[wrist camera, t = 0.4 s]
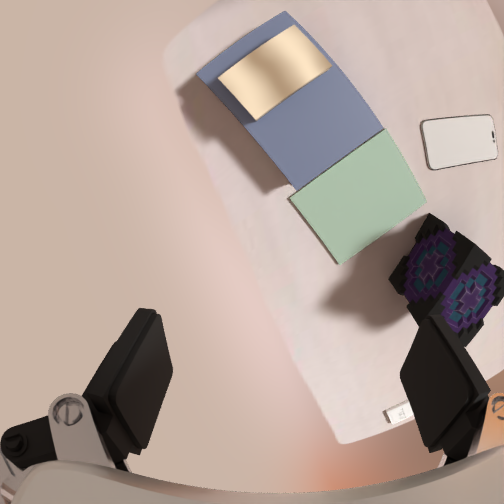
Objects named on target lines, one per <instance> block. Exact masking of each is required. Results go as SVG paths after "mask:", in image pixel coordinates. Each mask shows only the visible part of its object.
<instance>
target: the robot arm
mask: <svg viewBox="0 0 504 504" xmlns="http://www.w3.org/2000/svg"><path fill="white" fill-rule="evenodd" d="M172 373H173V367H172V363H171V359H170V355H169V350H168V346H167V342H166V337H165V333H164V328H163V323H162V318H161V315H160V314H157V313H156V311H155V310H154V309H145V308H139V309H138V310H137V311H136V313H135V314H134V316H133V317H132V319H131V320H130V322H129V323H128V325H127V326H126V328H125V329H124V331H123V333H122V334H121V336H120V337H119V339H118V340H117V341H116V342H115V343H114V344H113V345H112V347H111V348H110V350H109V352H108V353H107V355H106V356H105V358H104V360H103V361H102V363H101V364H100V366H99V368H98V369H97V371H96V373H95V374H94V376H93V378H92V380H91V381H90V383H89V384H88V386H87V388H86V390H85V391H84V393H83V395H82V396H80V395H78V394H73V393H69V394H64V395H61V396H59V397H57V398H56V399H55V400H54V401H53V402H52V404H51V405H50V408H49V412H48V416H45V417H42V418H39V419H36V420H33V421H30V422H27V423H24V424H20V425H17V426H14V427H11V428H9V429H8V430H7V431H5V432H4V434H3V436H2V438H1V442H0V504H504V393H495V394H493V395H492V396H491V397H490V398H489V397H488V394H489V392H490V391H491V390H490V388H489V386H488V385H487V383H486V381H485V380H484V378H483V376H482V375H481V373H480V371H479V370H478V368H477V366H476V365H475V363H474V362H473V360H472V358H471V357H470V355H469V354H468V352H467V351H466V349H465V348H464V346H463V345H462V343H461V342H460V340H459V339H458V337H457V336H456V334H455V333H454V331H453V330H452V329H451V327H450V326H449V324H448V323H447V322H446V320H445V319H444V317H443V316H442V315H428V316H426V317H425V319H424V320H422V322H421V324H420V326H419V329H418V331H417V334H416V336H415V339H414V341H413V344H412V346H411V348H410V351H409V353H408V355H407V357H406V360H405V362H404V364H403V366H402V368H401V371H400V379H401V382H402V384H403V387H404V390H405V392H406V395H407V397H408V400H409V403H410V406H411V408H412V411H413V414H414V417H415V420H416V422H417V425H418V428H419V431H420V434H421V437H422V440H423V443H424V445H425V446H426V447H428V449H429V453H432V452H435V451H438V450H441V449H442V448H443V450H444V454H443V457H442V460H441V462H440V464H439V466H438V468H436V469H433V470H430V471H427V472H424V473H420V474H417V475H413V476H410V477H406V478H402V479H397V480H394V481H389V482H384V483H379V484H374V485H368V486H362V487H356V488H349V489H342V490H333V491H322V492H307V493H250V492H236V491H235V492H234V491H225V490H216V489H208V488H201V487H195V486H188V485H183V484H178V483H172V482H167V481H163V480H158V479H154V478H149V477H145V476H141V475H138V474H134V473H132V472H131V470H130V468H129V466H128V464H127V462H126V459H127V456H128V454H129V452H130V453H133V454H137V455H140V453H141V450H142V449H146V448H147V446H148V443H149V440H150V437H151V434H152V431H153V428H154V425H155V423H156V419H157V417H158V414H159V411H160V408H161V405H162V402H163V400H164V397H165V394H166V391H167V389H168V386H169V383H170V380H171V378H172Z"/></svg>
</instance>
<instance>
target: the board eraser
mask: <svg viewBox="0 0 504 504" xmlns="http://www.w3.org/2000/svg"><path fill="white" fill-rule="evenodd" d="M331 67H332V65H331V63H330V62H329V61H328V60H327V59H326V58H325V56H324V55H323V54H322V53H321V52H320V51H319V50H318V49H317V48H316V46H315V45H314V44H313V43H312V42H311V41H310V40H309V39H308V38H307V37H306V36H305V35H304V34H303V33H302V32H301V31H300V30H299V29H298V28H297V27H296V26H295V25H293V26H291V27H289V28H288V29H286V30H284V31H283V32H281V33H280V34H278V35H277V36H275V37H273V38H272V39H270V40H269V41H267V42H266V43H264V44H263V45H261V46H260V47H259V48H257V49H256V50H254V51H253V52H251V53H250V54H249V55H247V56H246V57H244V58H243V59H242V60H240V61H239V62H238V63H236V64H235V65H234V66H232V67H231V68H230V69H228V70H227V71H226V72H225V73H223V74H222V75H221V76H220V77H218V79H219V80H220V81H221V82H222V83H223V84H224V85H225V86H226V87H227V88H228V90H229V91H230V92H231V93H232V94H233V95H234V96H235V97H236V98H237V99H238V101H239V102H240V103H241V104H242V105H243V106H244V107H245V108H246V109H247V111H248V112H249V113H250V114H251V115H252V116H253V117H254V119H255V120H256V121H258V120H259V119H260V118H262V117H263V116H264V115H266V114H267V113H268V112H270V111H271V110H272V109H274V108H275V107H276V106H278V105H279V104H280V103H282V102H283V101H285V100H286V99H287V98H289V97H290V96H292V95H293V94H294V93H296V92H297V91H299V90H300V89H302V88H303V87H304V86H306V85H307V84H309V83H310V82H312V81H313V80H315V79H316V78H318V77H319V76H321V75H322V74H324V73H325V72H327V71H328V70H329V69H330V68H331Z"/></svg>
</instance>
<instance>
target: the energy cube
mask: <svg viewBox="0 0 504 504" xmlns="http://www.w3.org/2000/svg"><path fill="white" fill-rule="evenodd" d="M415 239H416V242H417V243H416V244H415V246H414V248H413V249H412V251H411V253H410V254H409V256H403V258H402V259H401V261H400V262H399V264H398V265H397V267H396V269H395V270H394V272H393V273H392V274H391V276H390V277H389V281H390V282H391V284H392V285H393V287H394V288H395V290H396V291H397V293H398V294H400V295H405V297H406V298H407V300H408V301H409V304H408V305H407V308H408V310H409V311H410V313H411V315H412V316H413V318H414V319H415V321H416V323H417V324H418V326H420V324H421V322H422V320H424V319H425V317H426V316H428V315H442V316H443V317H444V319H445V320H446V322H447V323H448V324H449V326H450V327H451V329H452V330H453V331H454V333H455V334H456V336H457V337H458V339H459V340H460V342H461V343H462V345H463V346H464V347H466V346H467V345H468V344H469V343H470V341H471V340H472V339H473V338H474V337H475V335H476V334H477V333H478V332H479V330H480V329H481V328H482V326H483V325H484V322H483V318H484V317H485V316H486V314H487V313H488V312H489V310H490V309H491V307H492V306H498V304H499V303H500V301H501V300H502V298H503V297H504V270H503V269H502V268H500V267H499V266H496V265H492V264H491V263H490V261H491V258H490V257H489V256H488V255H487V254H486V253H485V252H484V251H483V250H481V249H480V248H479V247H478V246H477V245H476V244H475V243H473V242H472V241H470V240H469V239H468V238H466V237H465V236H463V235H462V234H461V233H459V232H458V231H456V232H455V234H454V233H452V232H451V231H450V229H449V227H448V225H447V224H446V223H444V222H443V221H441V220H440V219H438V218H437V217H435V216H434V215H432V214H430V213H429V214H428V216H427V218H426V220H425V221H424V223H423V225H422V227H421V228H420V230H419V232H418V233H417V235H416V237H415Z"/></svg>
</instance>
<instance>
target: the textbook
mask: <svg viewBox="0 0 504 504" xmlns="http://www.w3.org/2000/svg"><path fill="white" fill-rule="evenodd" d="M293 25H295V26H296V27H297V28H298V29H299V30H300V31H301V32H302V33H303V34H304V35H305V36H306V37H307V38H308V39H309V40H310V41H311V42H312V43H313V44H314V45H315V46H316V48H317V49H318V50H319V51H320V52H321V53H322V54H323V55H324V56H325V58H326V59H327V60H328V61H329V62H330V63H331V65H332V67H331V68H330V69H329V70H328V71H327V72H325V73H324V74H322V75H321V76H319V77H318V78H316V79H315V80H313V81H312V82H310V83H309V84H307V85H306V86H304V87H303V88H302V89H300V90H299V91H297V92H296V93H294V94H293V95H292V96H290V97H289V98H287V99H286V100H285V101H283V102H282V103H280V104H279V105H278V106H276V107H275V108H274V109H272V110H271V111H270V112H268V113H267V114H266V115H264V116H263V117H262V118H260V119H259V120H258V121H256V120H255V119H254V117H253V116H252V115H251V114H250V113H249V112H248V111H247V109H246V108H245V107H244V106H243V105H242V104H241V103H240V102H239V101H238V99H237V98H236V97H235V96H234V95H233V94H232V93H231V92H230V91H229V90H228V88H227V87H226V86H225V85H224V84H223V83H222V82H221V81H220V80H219V79H218V77H220V76H221V75H222V74H223V73H225V72H226V71H227V70H228V69H230V68H231V67H232V66H234V65H235V64H236V63H238V62H239V61H240V60H242V59H243V58H244V57H246V56H247V55H249V54H250V53H251V52H253V51H254V50H256V49H257V48H259V47H260V46H261V45H263V44H264V43H266V42H267V41H269V40H270V39H272V38H273V37H275V36H277V35H278V34H280V33H281V32H283V31H284V30H286V29H288V28H289V27H291V26H293ZM196 75H197V76H198V77H199V78H200V79H201V80H202V81H203V82H204V83H205V84H206V85H207V86H208V87H209V88H210V89H211V90H212V91H213V93H214V94H215V95H216V96H217V97H218V98H219V99H220V100H221V101H222V102H223V103H224V105H225V106H226V107H227V108H228V109H229V110H230V111H231V112H232V113H233V115H234V116H235V117H236V118H237V119H238V120H239V121H240V123H241V124H242V125H243V126H244V127H245V128H246V129H247V131H248V132H249V133H250V134H251V135H252V136H253V138H254V139H255V140H256V141H257V142H258V144H259V145H260V146H261V147H262V148H263V149H264V151H265V152H266V153H267V154H268V156H269V157H270V158H271V159H272V160H273V162H274V163H275V164H276V165H277V167H278V168H279V169H280V170H281V172H282V173H283V174H284V175H285V177H286V178H287V179H288V180H289V182H290V183H291V184H292V185H293V187H294V188H295V189H296V191H297V190H299V189H300V188H301V187H303V186H304V185H306V184H307V183H308V182H310V181H311V180H312V179H314V178H315V177H316V176H318V175H319V174H321V173H322V172H323V171H325V170H326V169H327V168H329V167H330V166H332V165H333V164H334V163H336V162H337V161H338V160H340V159H341V158H343V157H344V156H345V155H347V154H348V153H349V152H351V151H352V150H354V149H355V148H356V147H358V146H359V145H361V144H362V143H363V142H365V141H366V140H368V139H369V138H370V137H372V136H373V135H375V134H376V133H378V132H379V131H380V130H382V129H383V126H382V125H381V123H380V122H379V120H378V119H377V117H376V116H375V114H374V113H373V111H372V110H371V109H370V107H369V106H368V104H367V103H366V102H365V100H364V99H363V97H362V96H361V95H360V93H359V92H358V91H357V89H356V88H355V87H354V86H353V84H352V83H351V82H350V80H349V79H348V78H347V77H346V75H345V74H344V73H343V72H342V70H341V69H340V68H339V67H338V66H337V64H336V63H335V62H334V61H333V60H332V59H331V57H330V56H329V55H328V54H327V53H326V52H325V51H324V49H323V48H322V47H321V46H320V45H319V44H318V43H317V42H316V41H315V40H314V39H313V38H312V37H311V35H310V34H309V33H308V32H307V31H306V30H305V29H304V28H303V27H302V26H301V25H300V24H299V23H298V22H297V21H296V20H295V19H294V18H293V17H291V16H290V15H289V14H288V13H287V12H286V11H283V12H282V13H280V14H278V15H277V16H275V17H273V18H272V19H270V20H269V21H267V22H265V23H264V24H262V25H261V26H259V27H258V28H256V29H255V30H253V31H252V32H250V33H249V34H247V35H246V36H244V37H243V38H241V39H240V40H239V41H237V42H236V43H234V44H233V45H232V46H230V47H229V48H228V49H226V50H225V51H224V52H222V53H221V54H220V55H218V56H217V57H216V58H215V59H213V60H212V61H211V62H210V63H208V64H207V65H206V66H205V67H203V68H202V69H201V70H200V71H199V72H197V73H196Z"/></svg>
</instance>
